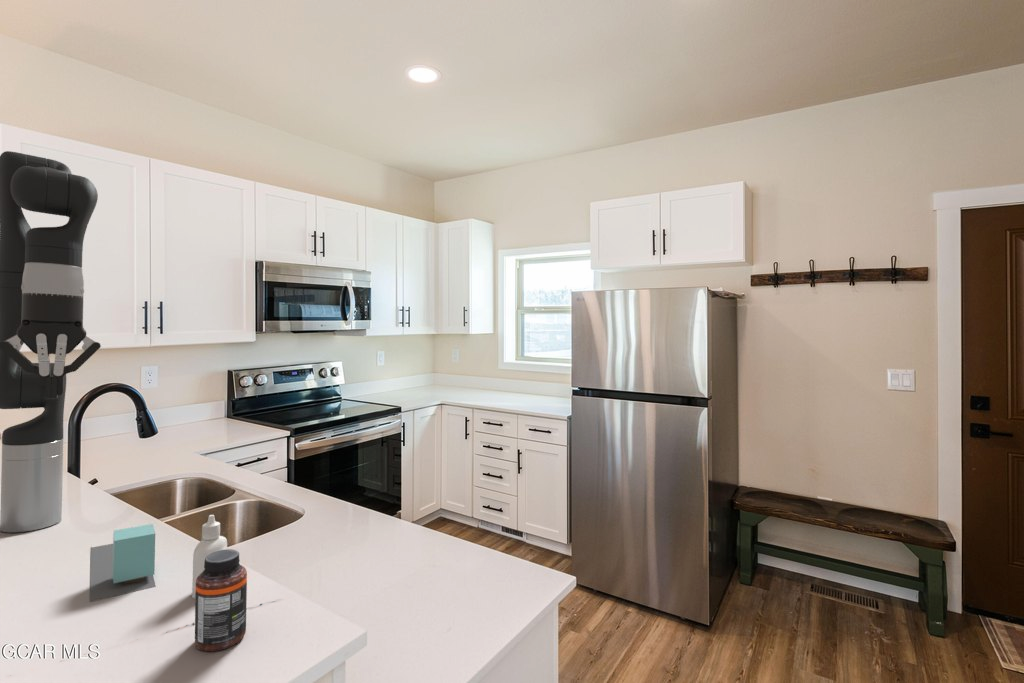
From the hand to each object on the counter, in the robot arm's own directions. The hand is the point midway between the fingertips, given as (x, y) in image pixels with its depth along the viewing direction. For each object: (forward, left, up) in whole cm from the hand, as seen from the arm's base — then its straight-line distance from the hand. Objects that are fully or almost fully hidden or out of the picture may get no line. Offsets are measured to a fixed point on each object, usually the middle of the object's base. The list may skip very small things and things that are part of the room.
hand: (51, 398), depth 84 cm
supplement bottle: (+37, +19, -29) cm, 51 cm away
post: (+11, +11, -29) cm, 33 cm away
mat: (+4, +10, -29) cm, 31 cm away
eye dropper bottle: (+22, +20, -29) cm, 42 cm away
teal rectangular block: (+11, +11, -28) cm, 32 cm away
